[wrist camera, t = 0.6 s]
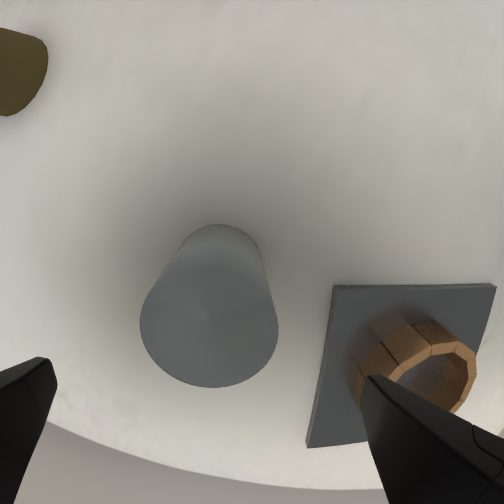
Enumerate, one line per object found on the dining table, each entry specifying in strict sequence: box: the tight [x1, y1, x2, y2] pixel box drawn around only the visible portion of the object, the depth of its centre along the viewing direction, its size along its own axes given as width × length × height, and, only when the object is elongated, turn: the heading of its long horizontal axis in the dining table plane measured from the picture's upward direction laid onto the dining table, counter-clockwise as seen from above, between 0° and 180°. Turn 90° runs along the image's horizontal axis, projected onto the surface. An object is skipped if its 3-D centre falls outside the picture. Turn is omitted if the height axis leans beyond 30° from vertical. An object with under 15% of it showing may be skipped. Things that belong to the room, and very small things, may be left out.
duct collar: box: [306, 284, 497, 448], centre depth 20 cm, size 14×14×4 cm
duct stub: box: [140, 225, 278, 388], centre depth 15 cm, size 5×5×8 cm
